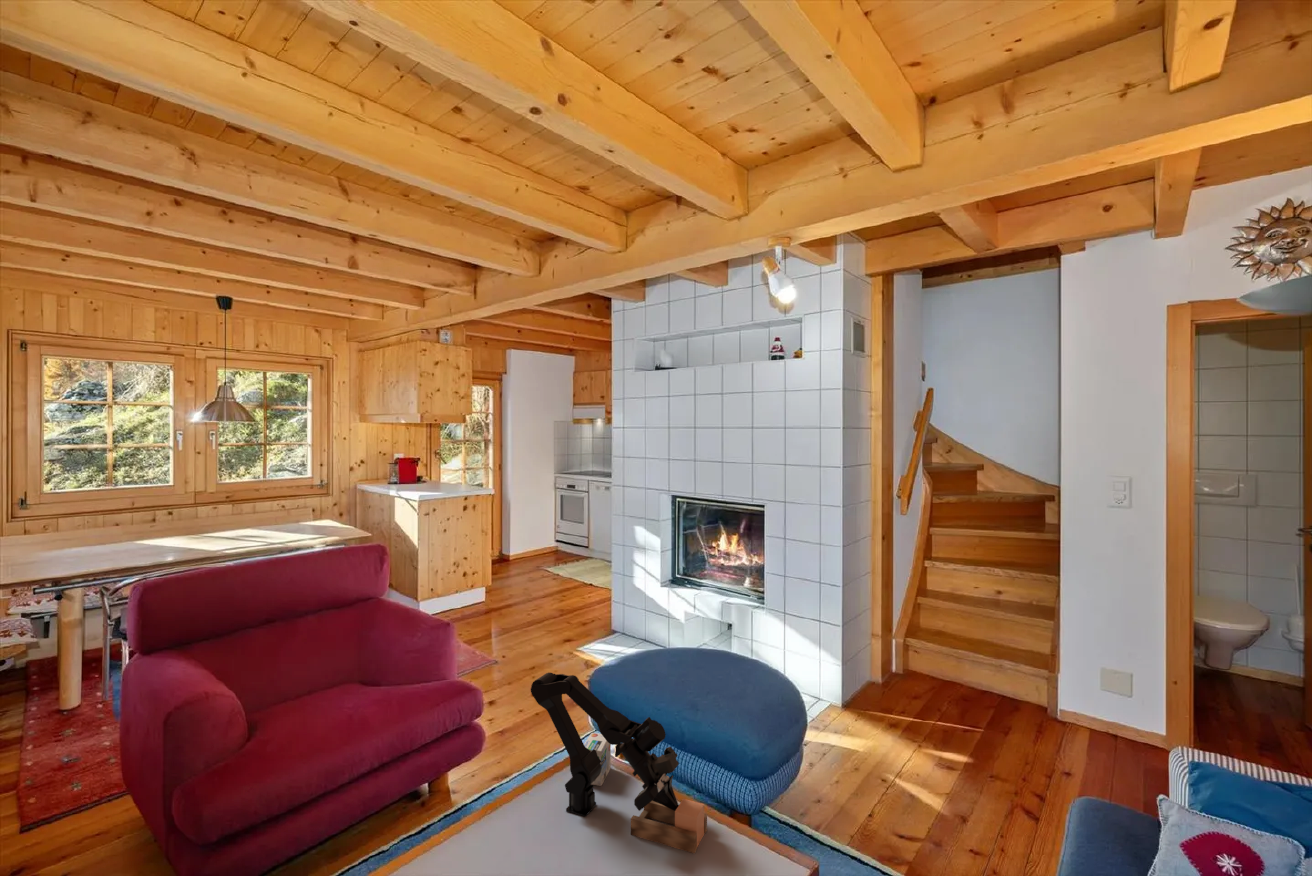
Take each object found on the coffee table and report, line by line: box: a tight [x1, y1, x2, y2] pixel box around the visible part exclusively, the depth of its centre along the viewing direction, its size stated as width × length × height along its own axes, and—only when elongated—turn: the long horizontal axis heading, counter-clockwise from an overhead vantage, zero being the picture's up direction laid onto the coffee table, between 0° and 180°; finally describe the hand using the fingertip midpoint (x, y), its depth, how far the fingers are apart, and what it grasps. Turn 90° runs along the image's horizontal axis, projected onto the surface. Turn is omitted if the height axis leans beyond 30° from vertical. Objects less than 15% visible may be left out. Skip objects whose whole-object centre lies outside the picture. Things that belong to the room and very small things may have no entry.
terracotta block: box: [674, 798, 705, 848], centre depth 158 cm, size 6×6×8 cm
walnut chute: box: [630, 801, 708, 855], centre depth 160 cm, size 18×10×4 cm, turn 67°
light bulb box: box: [583, 732, 612, 787], centre depth 187 cm, size 11×7×11 cm, turn 168°
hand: (678, 810), depth 159 cm, fingers closed, pressing on terracotta block
